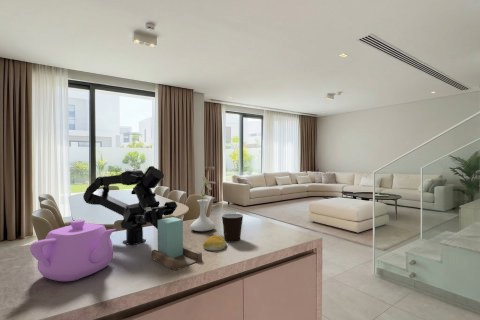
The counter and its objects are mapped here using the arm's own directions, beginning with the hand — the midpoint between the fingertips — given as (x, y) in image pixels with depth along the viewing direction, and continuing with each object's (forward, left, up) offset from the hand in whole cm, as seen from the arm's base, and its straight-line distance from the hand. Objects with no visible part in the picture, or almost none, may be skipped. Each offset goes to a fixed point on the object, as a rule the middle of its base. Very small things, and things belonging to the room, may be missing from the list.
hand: (160, 230), depth 93 cm
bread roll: (+12, +15, -8) cm, 21 cm away
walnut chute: (+10, -1, -8) cm, 12 cm away
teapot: (-7, -24, -8) cm, 26 cm away
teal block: (+6, -1, -8) cm, 10 cm away
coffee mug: (+12, +27, -8) cm, 31 cm away
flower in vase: (-8, +30, -8) cm, 32 cm away
